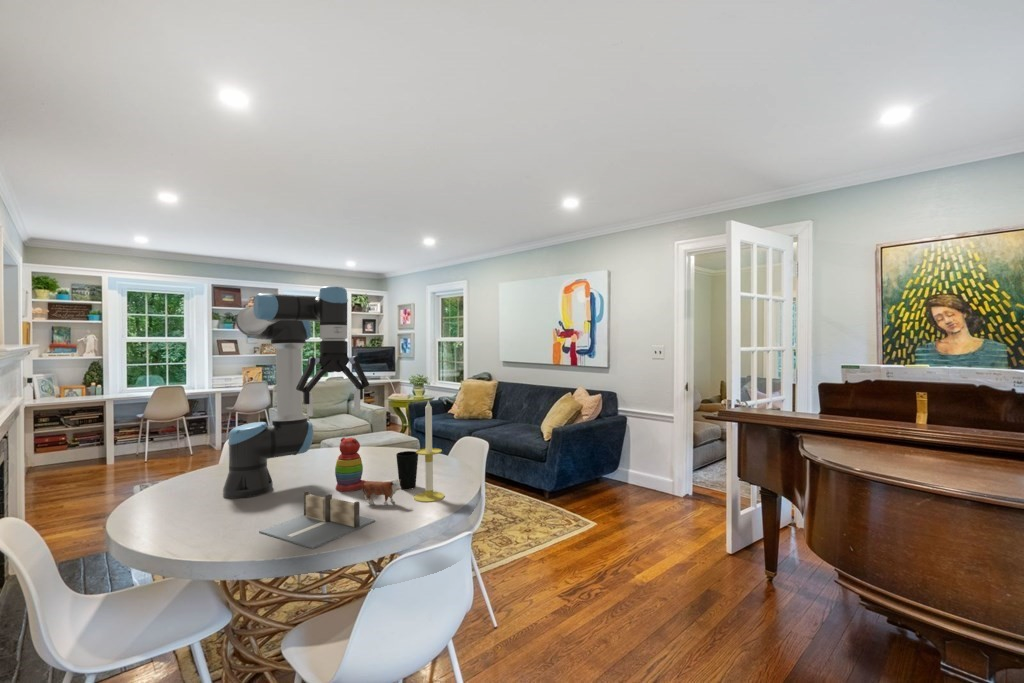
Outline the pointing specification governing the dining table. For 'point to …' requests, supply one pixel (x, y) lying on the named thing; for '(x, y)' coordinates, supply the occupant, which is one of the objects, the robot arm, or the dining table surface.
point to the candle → (428, 462)
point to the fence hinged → (345, 512)
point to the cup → (407, 468)
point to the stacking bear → (349, 466)
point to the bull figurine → (381, 489)
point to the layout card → (311, 530)
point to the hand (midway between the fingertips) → (334, 413)
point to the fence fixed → (317, 506)
